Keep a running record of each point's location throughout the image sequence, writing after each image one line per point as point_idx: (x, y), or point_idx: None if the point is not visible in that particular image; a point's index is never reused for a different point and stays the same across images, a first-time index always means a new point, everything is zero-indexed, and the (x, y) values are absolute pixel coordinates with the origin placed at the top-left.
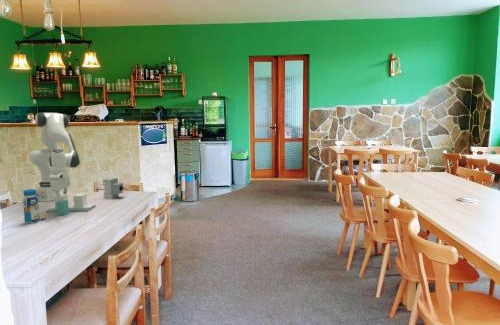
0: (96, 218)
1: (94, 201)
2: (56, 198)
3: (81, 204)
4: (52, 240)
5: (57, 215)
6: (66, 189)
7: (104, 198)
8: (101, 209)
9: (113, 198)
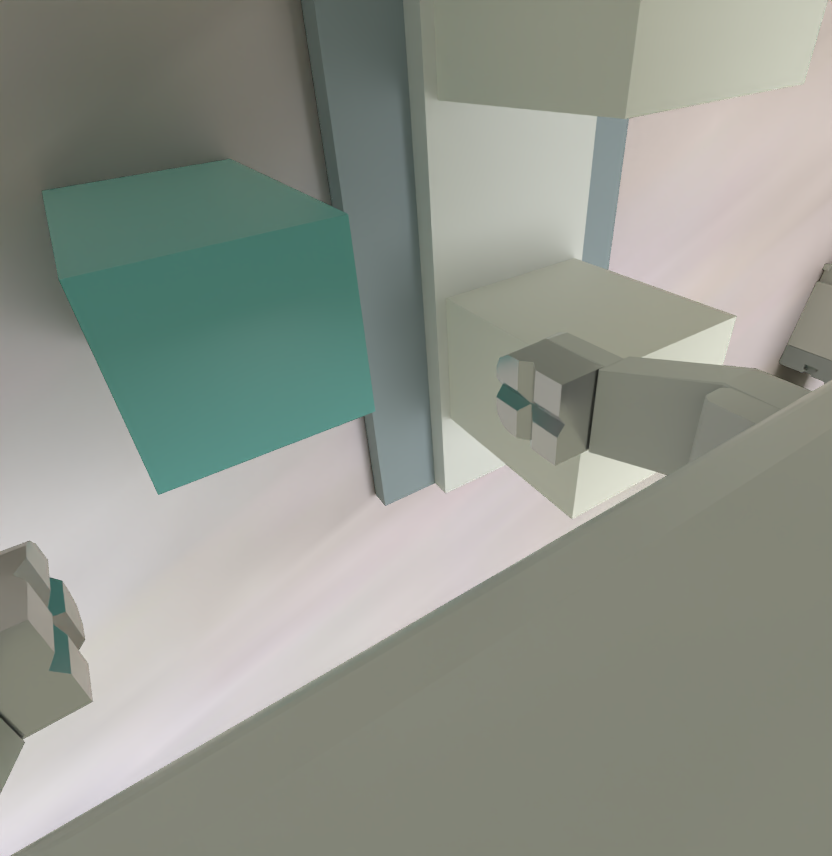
0: (101, 800)
1: (768, 236)
2: None
3: (477, 422)
4: None
5: (44, 194)
6: (659, 466)
7: (824, 270)
8: (458, 547)
9: (783, 363)
